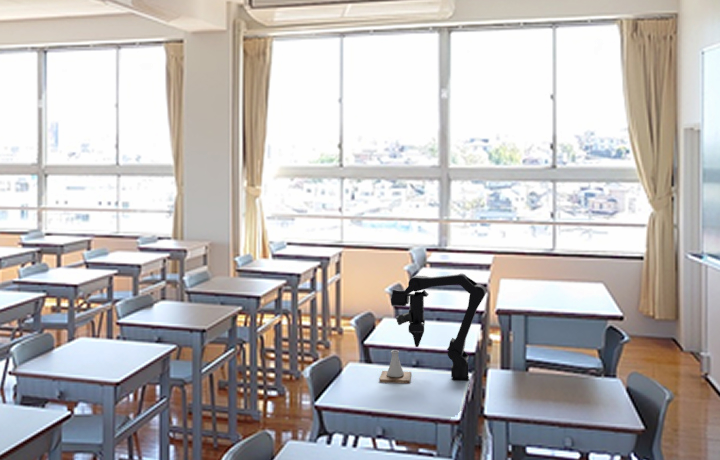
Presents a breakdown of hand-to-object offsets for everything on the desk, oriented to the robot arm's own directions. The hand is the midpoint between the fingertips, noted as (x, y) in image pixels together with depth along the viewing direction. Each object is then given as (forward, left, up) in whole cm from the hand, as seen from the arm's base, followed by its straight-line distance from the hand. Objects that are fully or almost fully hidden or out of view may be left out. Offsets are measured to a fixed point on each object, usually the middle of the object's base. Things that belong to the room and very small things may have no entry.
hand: (417, 344), depth 267 cm
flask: (+8, +6, -12) cm, 16 cm away
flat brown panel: (+8, +6, -14) cm, 17 cm away
